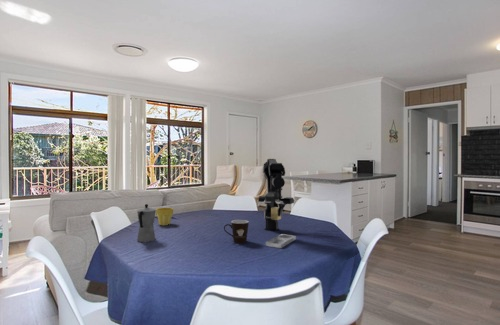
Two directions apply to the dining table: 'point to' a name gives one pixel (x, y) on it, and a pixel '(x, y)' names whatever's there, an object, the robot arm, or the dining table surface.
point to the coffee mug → (239, 230)
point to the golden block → (275, 213)
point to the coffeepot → (146, 224)
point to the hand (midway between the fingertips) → (275, 215)
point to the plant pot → (164, 215)
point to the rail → (280, 240)
